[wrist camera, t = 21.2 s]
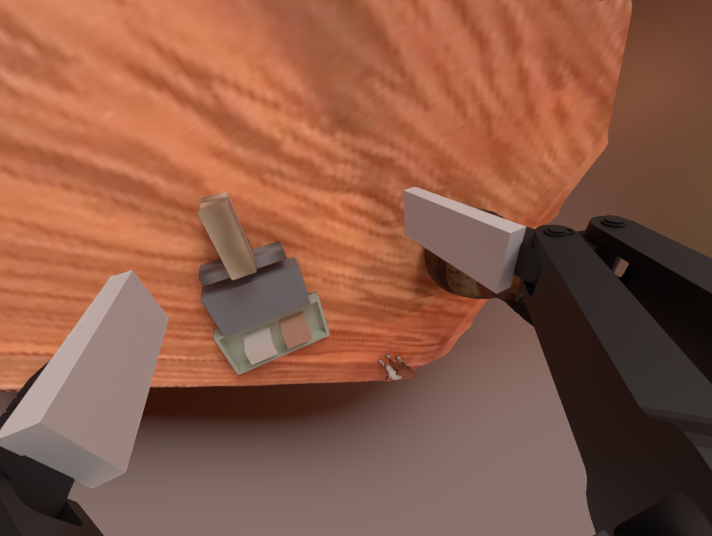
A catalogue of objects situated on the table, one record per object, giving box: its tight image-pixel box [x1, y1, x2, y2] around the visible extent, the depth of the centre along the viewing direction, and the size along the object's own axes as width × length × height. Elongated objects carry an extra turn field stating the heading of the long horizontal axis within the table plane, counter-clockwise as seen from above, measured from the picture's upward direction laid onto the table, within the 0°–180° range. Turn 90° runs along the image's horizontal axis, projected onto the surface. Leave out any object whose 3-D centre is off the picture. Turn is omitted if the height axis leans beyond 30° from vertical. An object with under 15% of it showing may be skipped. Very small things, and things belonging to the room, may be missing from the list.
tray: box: [214, 292, 330, 375], centre depth 52 cm, size 20×11×2 cm, turn 98°
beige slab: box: [198, 192, 287, 286], centre depth 37 cm, size 13×12×8 cm
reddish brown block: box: [279, 312, 313, 349], centre depth 51 cm, size 5×5×4 cm
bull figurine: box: [378, 354, 415, 381], centre depth 72 cm, size 4×13×8 cm, turn 49°
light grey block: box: [243, 325, 278, 365], centre depth 49 cm, size 5×5×4 cm
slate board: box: [201, 258, 311, 338], centre depth 46 cm, size 16×9×4 cm, turn 98°
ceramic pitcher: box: [425, 208, 534, 326], centre depth 51 cm, size 20×20×30 cm
